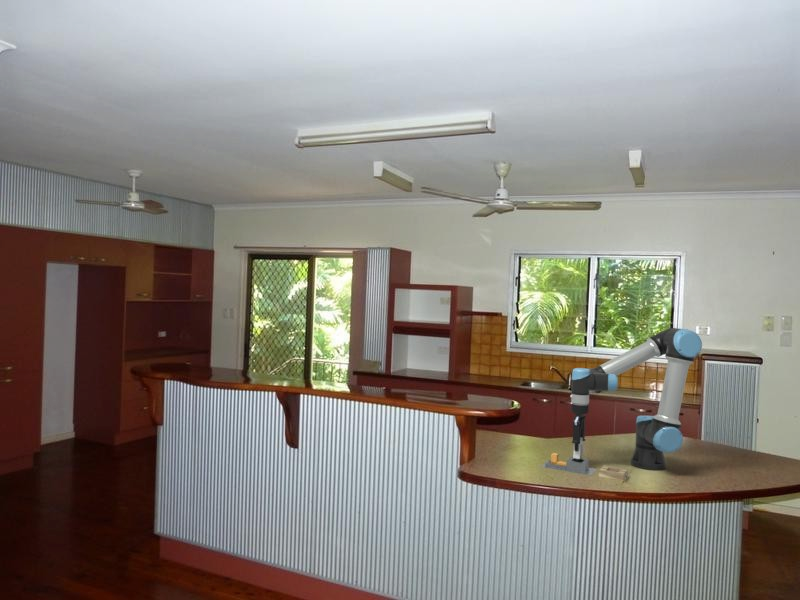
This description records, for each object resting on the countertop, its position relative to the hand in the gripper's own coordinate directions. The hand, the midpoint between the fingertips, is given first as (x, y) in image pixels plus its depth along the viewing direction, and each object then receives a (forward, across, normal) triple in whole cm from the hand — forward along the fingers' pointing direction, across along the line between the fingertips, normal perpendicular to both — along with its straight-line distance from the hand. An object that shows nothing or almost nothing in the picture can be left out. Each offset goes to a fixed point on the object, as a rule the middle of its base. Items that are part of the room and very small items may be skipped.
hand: (578, 456), depth 269 cm
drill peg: (+5, 0, 0) cm, 5 cm away
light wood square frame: (+7, 0, +15) cm, 16 cm away
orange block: (+5, 0, -7) cm, 9 cm away
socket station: (+7, 0, -3) cm, 7 cm away
